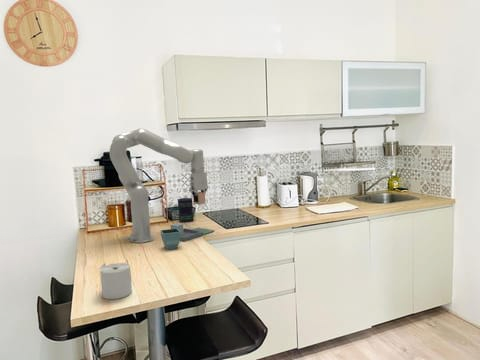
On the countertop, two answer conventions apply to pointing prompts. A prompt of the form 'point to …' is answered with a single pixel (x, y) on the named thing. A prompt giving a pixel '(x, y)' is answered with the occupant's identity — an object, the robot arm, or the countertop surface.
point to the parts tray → (190, 234)
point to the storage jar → (185, 210)
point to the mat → (203, 230)
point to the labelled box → (200, 198)
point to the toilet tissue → (116, 280)
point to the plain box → (179, 227)
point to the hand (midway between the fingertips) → (199, 200)
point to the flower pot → (170, 238)
